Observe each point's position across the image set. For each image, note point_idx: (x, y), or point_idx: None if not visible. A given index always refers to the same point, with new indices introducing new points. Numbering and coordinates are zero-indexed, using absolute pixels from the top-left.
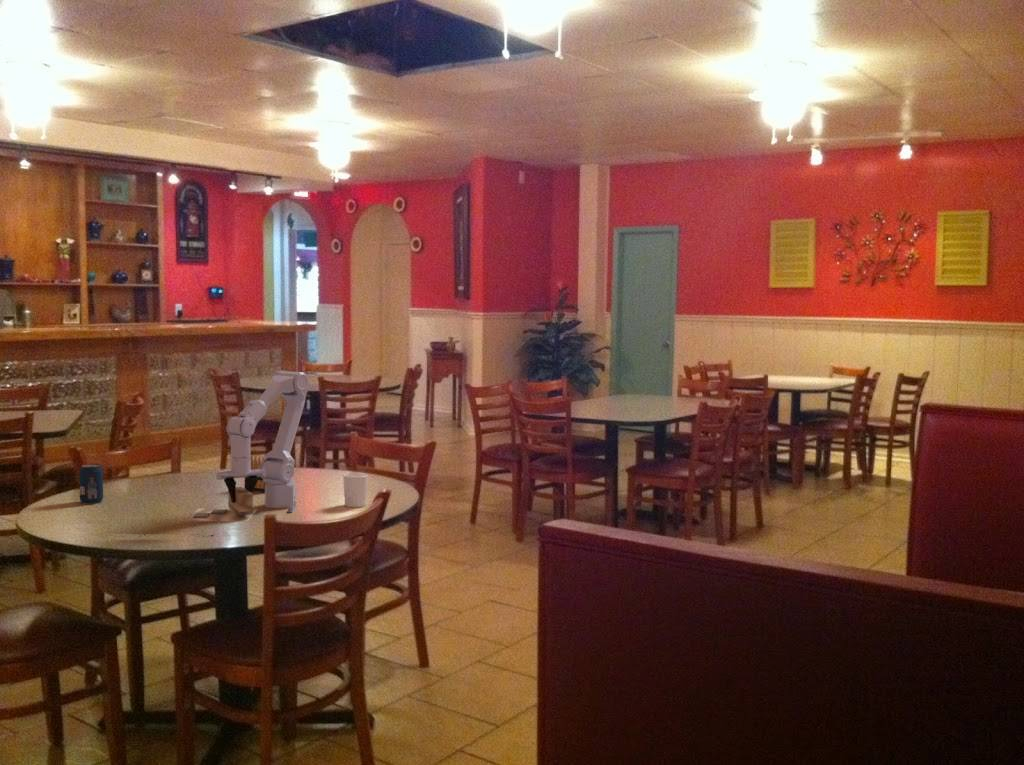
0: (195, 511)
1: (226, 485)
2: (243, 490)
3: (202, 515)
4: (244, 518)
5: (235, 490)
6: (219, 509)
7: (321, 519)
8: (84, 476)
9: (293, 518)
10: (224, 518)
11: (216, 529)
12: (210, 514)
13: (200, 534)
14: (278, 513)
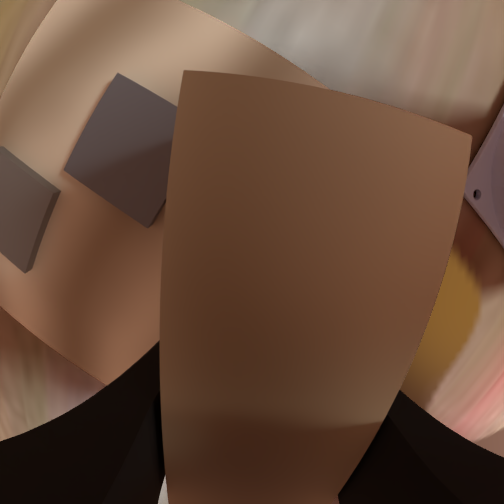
0: (31, 39)
1: (20, 440)
2: (313, 458)
3: (5, 236)
4: None
5: (206, 417)
6: (151, 97)
7: (495, 421)
8: None
9: (467, 383)
10: (118, 339)
11: (77, 391)
12: (66, 172)
13: (24, 405)
14: (497, 258)
